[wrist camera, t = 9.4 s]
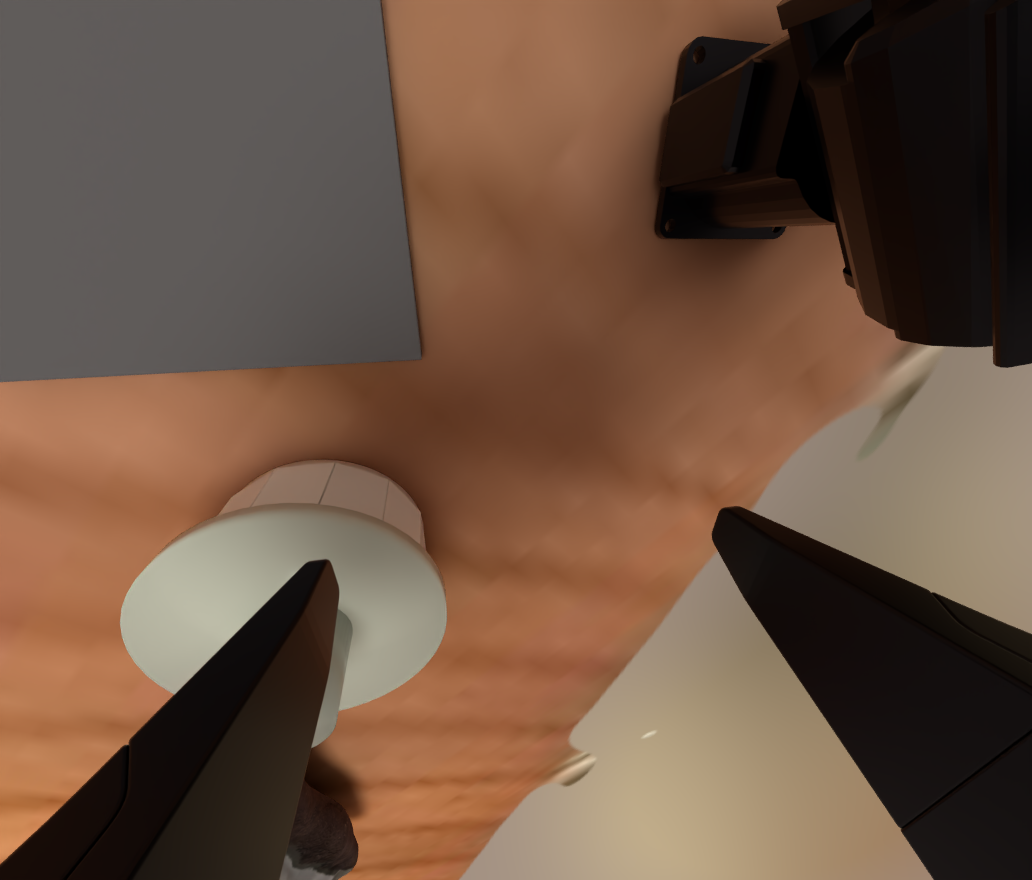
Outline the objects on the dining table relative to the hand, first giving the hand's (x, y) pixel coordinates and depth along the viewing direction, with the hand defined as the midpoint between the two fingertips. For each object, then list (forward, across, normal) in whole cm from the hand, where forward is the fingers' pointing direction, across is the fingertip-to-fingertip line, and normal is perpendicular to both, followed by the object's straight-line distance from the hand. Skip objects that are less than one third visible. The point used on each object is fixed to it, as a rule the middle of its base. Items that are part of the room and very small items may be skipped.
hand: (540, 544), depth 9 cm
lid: (+6, +9, +9) cm, 14 cm away
